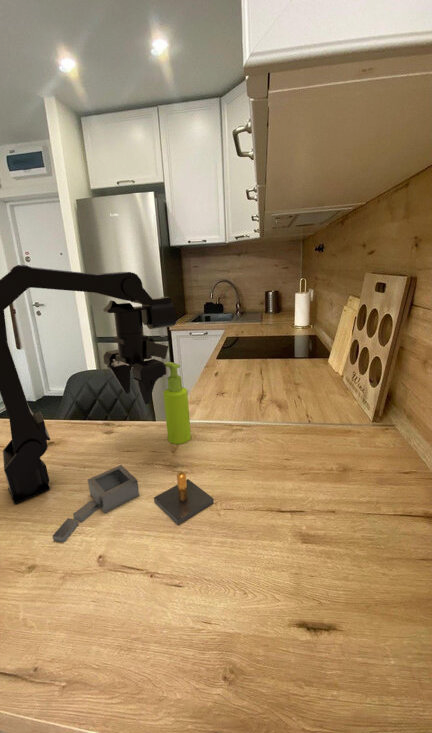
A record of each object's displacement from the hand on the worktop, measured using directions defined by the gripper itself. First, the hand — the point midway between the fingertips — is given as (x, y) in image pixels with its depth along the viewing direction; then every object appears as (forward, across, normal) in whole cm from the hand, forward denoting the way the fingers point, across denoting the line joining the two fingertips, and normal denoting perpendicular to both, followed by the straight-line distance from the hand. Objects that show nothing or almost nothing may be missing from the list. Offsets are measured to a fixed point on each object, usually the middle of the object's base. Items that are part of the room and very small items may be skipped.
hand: (136, 398), depth 76 cm
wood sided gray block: (+14, -14, +22) cm, 30 cm away
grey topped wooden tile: (+14, -12, +18) cm, 26 cm away
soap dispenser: (+14, -1, -10) cm, 17 cm away
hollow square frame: (+14, -11, +12) cm, 21 cm away
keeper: (+14, -22, +4) cm, 26 cm away
